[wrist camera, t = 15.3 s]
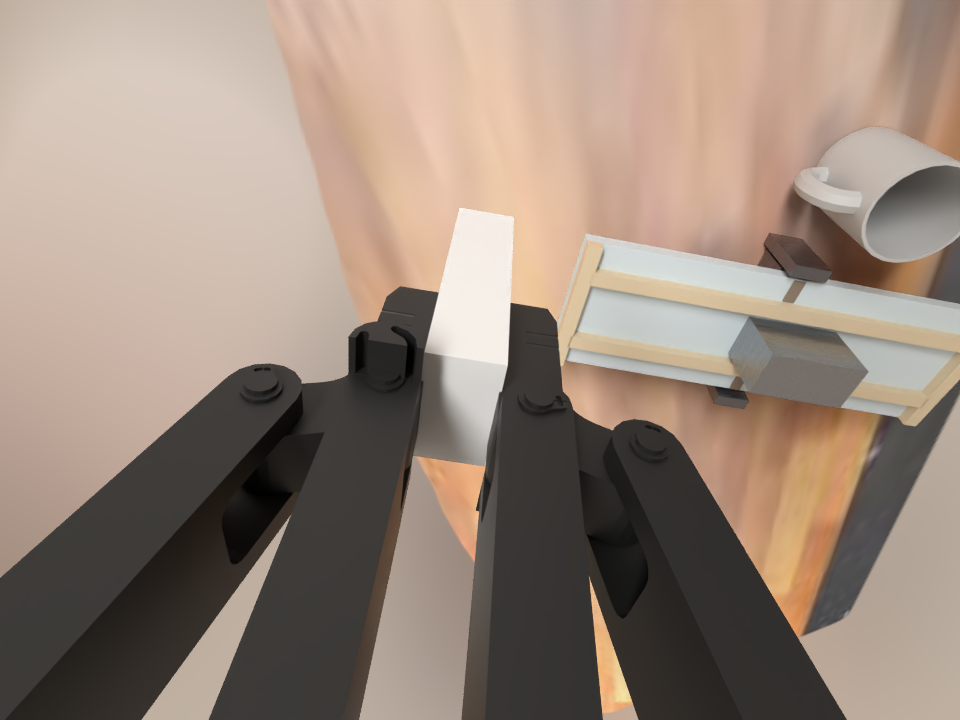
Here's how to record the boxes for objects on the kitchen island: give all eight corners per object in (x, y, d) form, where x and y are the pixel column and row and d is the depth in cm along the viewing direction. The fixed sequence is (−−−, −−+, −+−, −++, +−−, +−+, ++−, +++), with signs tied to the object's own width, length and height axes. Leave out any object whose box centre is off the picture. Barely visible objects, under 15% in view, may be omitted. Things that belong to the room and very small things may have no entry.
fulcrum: (769, 232, 48) (796, 265, 43) (801, 239, 48) (832, 272, 43) (697, 364, 57) (713, 403, 52) (725, 369, 57) (743, 408, 52)
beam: (585, 233, 44) (588, 245, 42) (992, 310, 47) (1011, 324, 45) (548, 350, 52) (549, 364, 50) (902, 410, 54) (915, 426, 52)
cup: (881, 215, 46) (945, 265, 39) (761, 210, 47) (804, 258, 39) (925, 126, 42) (1007, 163, 35) (792, 120, 42) (847, 156, 35)
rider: (748, 316, 47) (773, 354, 43) (836, 332, 47) (868, 371, 43) (727, 352, 49) (748, 392, 45) (811, 367, 50) (839, 408, 46)
